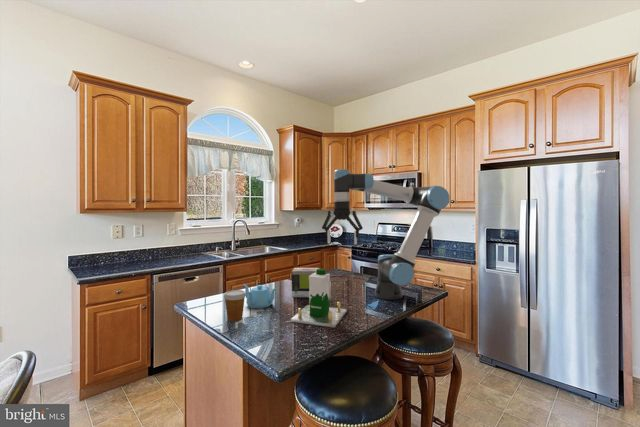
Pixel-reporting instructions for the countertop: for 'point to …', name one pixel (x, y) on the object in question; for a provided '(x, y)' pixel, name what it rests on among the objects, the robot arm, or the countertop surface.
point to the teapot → (259, 297)
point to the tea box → (301, 281)
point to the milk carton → (319, 293)
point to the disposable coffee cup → (234, 304)
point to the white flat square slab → (328, 320)
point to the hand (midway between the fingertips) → (342, 243)
